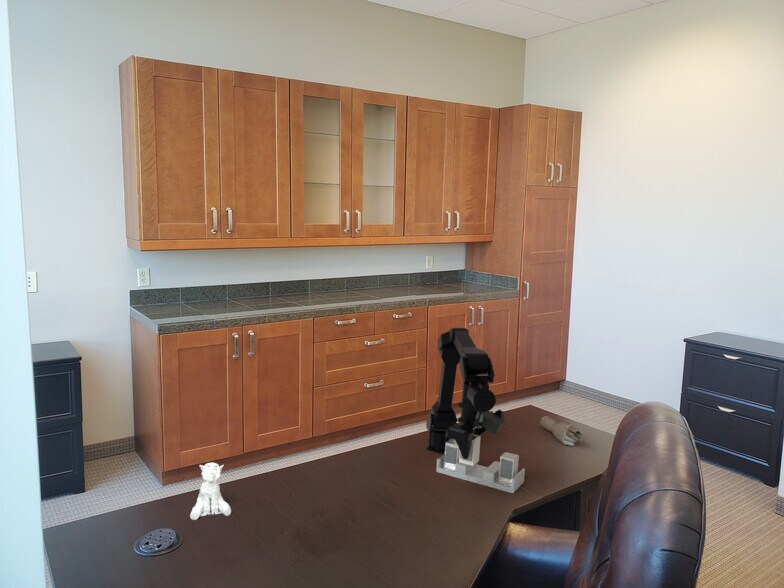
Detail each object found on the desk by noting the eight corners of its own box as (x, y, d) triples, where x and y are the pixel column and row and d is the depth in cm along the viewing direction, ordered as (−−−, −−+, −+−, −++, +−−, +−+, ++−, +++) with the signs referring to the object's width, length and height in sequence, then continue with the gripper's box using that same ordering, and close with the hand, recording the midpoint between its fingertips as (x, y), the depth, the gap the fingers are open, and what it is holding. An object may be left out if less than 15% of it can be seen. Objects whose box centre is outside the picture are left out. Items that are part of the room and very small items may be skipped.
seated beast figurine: (190, 521, 144) (190, 473, 143) (188, 504, 152) (188, 459, 151) (231, 516, 148) (231, 468, 146) (227, 500, 156) (227, 455, 154)
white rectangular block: (458, 462, 162) (459, 437, 161) (465, 457, 166) (466, 432, 165) (472, 466, 160) (473, 440, 159) (478, 460, 164) (480, 435, 163)
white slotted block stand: (436, 471, 179) (438, 444, 178) (449, 461, 187) (451, 435, 186) (513, 493, 167) (515, 463, 166) (523, 482, 175) (526, 453, 174)
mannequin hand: (556, 434, 222) (585, 455, 197) (537, 429, 221) (564, 449, 197) (561, 416, 222) (592, 434, 197) (543, 410, 221) (571, 428, 196)
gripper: (488, 414, 148) (483, 475, 151) (514, 397, 164) (509, 452, 166) (446, 405, 154) (443, 464, 156) (475, 389, 170) (472, 443, 172)
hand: (468, 456), depth 163 cm, fingers closed on white rectangular block, 4 cm apart
